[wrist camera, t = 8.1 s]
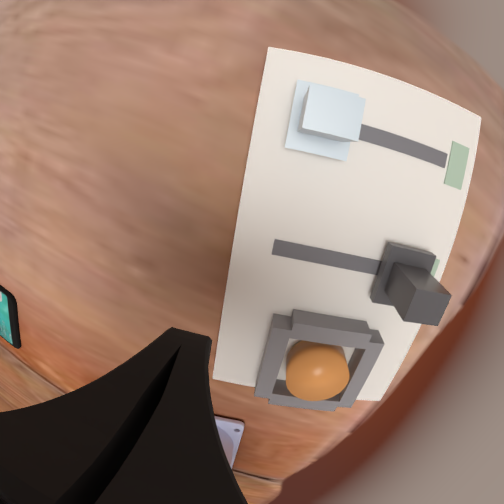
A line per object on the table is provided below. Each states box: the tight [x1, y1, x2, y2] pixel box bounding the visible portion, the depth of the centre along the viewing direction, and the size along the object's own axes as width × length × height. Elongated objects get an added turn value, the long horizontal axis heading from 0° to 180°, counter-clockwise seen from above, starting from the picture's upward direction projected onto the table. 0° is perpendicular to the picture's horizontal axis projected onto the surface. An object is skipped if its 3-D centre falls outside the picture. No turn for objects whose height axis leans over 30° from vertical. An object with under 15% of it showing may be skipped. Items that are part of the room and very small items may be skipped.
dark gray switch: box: [370, 242, 451, 326], centre depth 13 cm, size 3×3×4 cm
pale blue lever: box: [285, 79, 366, 161], centre depth 11 cm, size 3×3×4 cm
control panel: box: [213, 47, 481, 411], centre depth 15 cm, size 20×12×3 cm, turn 170°
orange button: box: [286, 340, 349, 401], centre depth 16 cm, size 4×4×2 cm
